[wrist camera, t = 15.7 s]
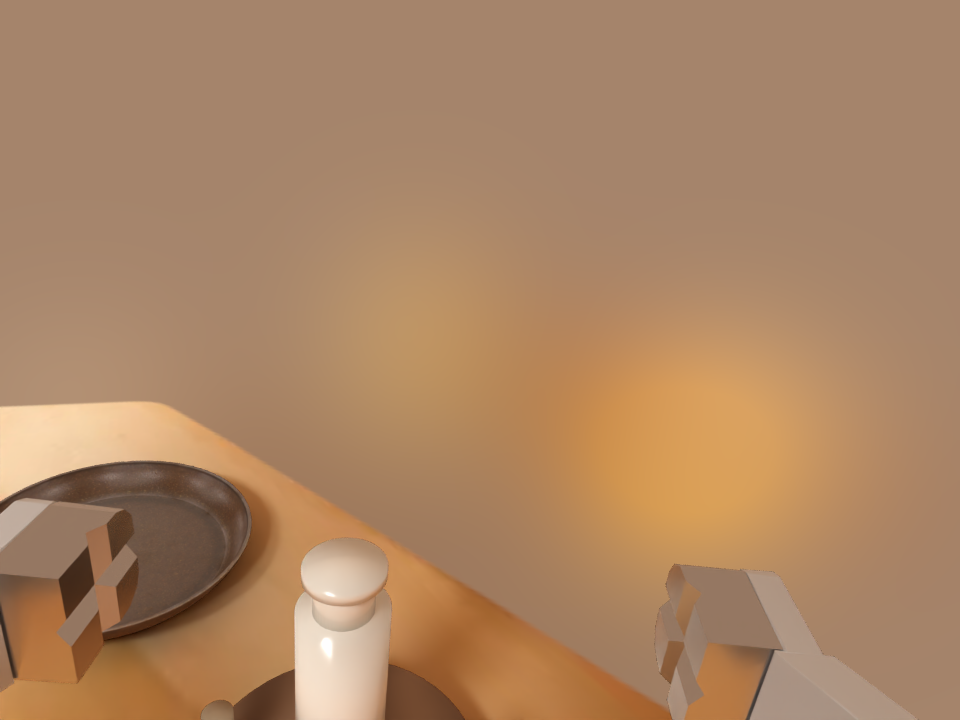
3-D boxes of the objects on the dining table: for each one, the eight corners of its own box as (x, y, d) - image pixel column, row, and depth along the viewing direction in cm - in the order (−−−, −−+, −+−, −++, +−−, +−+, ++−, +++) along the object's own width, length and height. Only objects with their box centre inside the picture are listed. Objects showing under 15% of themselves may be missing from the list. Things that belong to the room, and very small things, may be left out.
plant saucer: (305, 545, 59) (305, 513, 58) (73, 724, 42) (66, 684, 41) (142, 465, 67) (139, 435, 66) (-106, 587, 50) (-117, 550, 49)
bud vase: (285, 813, 36) (281, 595, 30) (308, 734, 40) (308, 529, 34) (373, 821, 36) (386, 605, 30) (387, 741, 40) (400, 538, 34)
